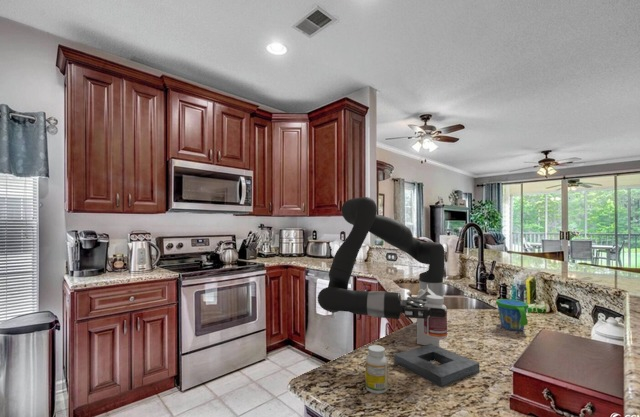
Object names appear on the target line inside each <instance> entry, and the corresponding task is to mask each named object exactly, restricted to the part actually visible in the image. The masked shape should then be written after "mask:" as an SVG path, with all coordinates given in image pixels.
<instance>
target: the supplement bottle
mask: <svg viewBox="0 0 640 417" xmlns="http://www.w3.org/2000/svg"><path fill="white" fill-rule="evenodd" d="M367 349H368V350H367V353H368V355H366V357H365V381H364V382H365V388H366V390H367V391H368V392H369V393H372V394H377V395H378V394H379V395H380V394H384V393H386V392H387V390H388V387H389V386H388V383H389V382H388V374H389V373H388V365H389V364H388V362H389V361H388V358H387V357H386V356H385V354H386V352H385V351H386V349H385V348H384V347H383V346H381V345H376V344H374V345H369V346H368V348H367Z"/></svg>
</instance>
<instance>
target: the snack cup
mask: <svg viewBox="0 0 640 417" xmlns="http://www.w3.org/2000/svg"><path fill="white" fill-rule="evenodd" d="M495 303H496V306H497V308H498V309H497V310H498V314H499V320H500V325H501V327H502V328H504V329H506V330H510V331H514V332H518V331H523V330H524V329H525V326H527V325H528V324H529V323H528V321H529V320H528V317H527V310H528V308H529V304H528V303H527V302H525V301H522V300H518V299H517V300H516V299H509V298H500V299H496V301H495Z"/></svg>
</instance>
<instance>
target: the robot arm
mask: <svg viewBox="0 0 640 417" xmlns="http://www.w3.org/2000/svg"><path fill="white" fill-rule="evenodd" d="M340 209H341V215H342V218H344V221H346V222H347V223H348V224H350V225H353V226H352V228H351V230H350V232H349V234H348V235H347V236H346V238H345V239H344V240H343V242H342V244H341V245H340V246H339V247H338V249H337V251H336V252H335V254H334V256H333V260H332V262H331V266H330V268H329V271H328V279H329V281H328V285H327V287H325V288H322V289H321V290H320V291H319V292H318V295H317V302H318V305H319V306H320V308H321V309H323V310H325V311H327V312H329V313H332V314H334V313H338V312H349V313H351V314H355V315H362V316H371V317H375V318H381V319H392V320H400V319H401V314H404V317H405V318H410V319H411V318H412V319H417V318H422V319H428V317H430V316H434V317H445V309H443V308H431V307H426V306H424V305H425V304H426V303H427V301H426V299H421V298H417V297H410V296H408V297H406V299H402V297H401V293H400V292H394V291H383V290H382V291H381V290H379V291H378V290H374V291H373V290H372V291H371V290H370V291H369V290H351V289H349V288H348V287H349V282H350V278H351V276H352V274H353V270H354V266H355V263H356V260H357V258H358V255H359V253H360V251H361V248H362V246H363V244H364V242H365V240H366V238H367V236H368V234H369V233H370V234H372V235H373V236H375V237H377V238H379V239H380V240H383V241H384V242H386V243H387V244H389V245H390V246H393V247H394V248H396V249H398V250H401V251H402V252H403V253H406V254H407V255H409V256H410V257H411V258H413V259H414V260H415V261H417V262H418V263H420V264H423V265H428V269H427V270H426V271H423V272H421V273H419V276H418V286H419V287H418V288H419V290H421V289H423V290H425V289H426V288H427V285H428V288H429V289H430V290H431V291H432V292H433V293H434V294H436V295H439V296H442V297H444V276H445V264H446V263H445V262H446V254H445V253H446V252H445V248H444V245H443V244H442V243H440V242H435V241H423V240H419V239H417V238H415V237H414V235H413V232H412V230H411V229H410V228H409V227H408V226H407V225H405V224H404V223H402V222H401V221H399V220H397V219H395V218H391V217H388V216H384V215H380V214H377V213H378V212H377V211H378V206H377V204H376V201H375V200H374V199H372V198H371V197H368V196H361V197H355V198H351V199H348V200H346V201H344V203H343V204H342V205H341V208H340ZM419 290H418V291H419Z"/></svg>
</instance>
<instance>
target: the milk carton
mask: <svg viewBox="0 0 640 417" xmlns="http://www.w3.org/2000/svg"><path fill="white" fill-rule="evenodd" d="M416 293H417V295H416V298H421V299H426V296H427V295H436V294H434V293H433V292H432V291H431V290H430V289H429V288H428V285H427V288H426V289H425V290H423V289H421V290H418V291H417V292H416ZM416 344H417V345H422V346H425V345H428V344H433V345H435V346H438V347H440V339H432V338H429V337H427V336H425V334H424V319H422V318H416Z"/></svg>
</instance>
